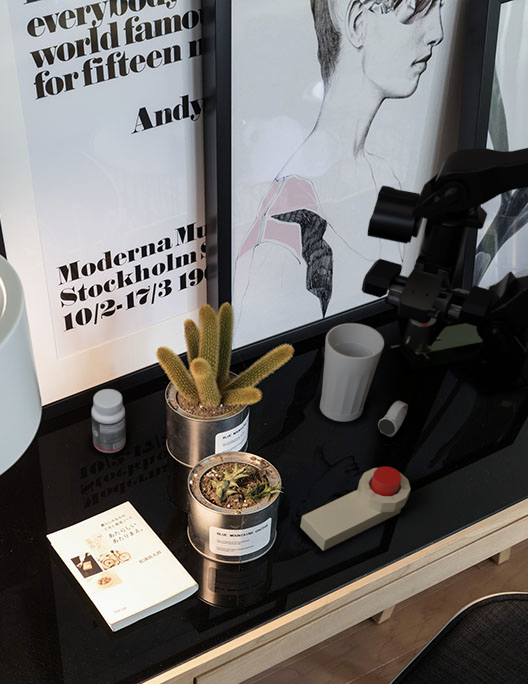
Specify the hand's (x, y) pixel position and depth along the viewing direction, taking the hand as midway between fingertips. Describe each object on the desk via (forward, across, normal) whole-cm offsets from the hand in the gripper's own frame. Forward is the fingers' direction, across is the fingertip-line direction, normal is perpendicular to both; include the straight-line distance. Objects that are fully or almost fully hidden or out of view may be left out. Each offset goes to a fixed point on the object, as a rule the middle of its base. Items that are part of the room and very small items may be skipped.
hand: (416, 340), depth 145 cm
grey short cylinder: (+4, +3, -17) cm, 18 cm away
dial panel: (+3, +3, +2) cm, 5 cm away
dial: (0, 0, 0) cm, 0 cm away
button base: (+4, +5, -36) cm, 37 cm away
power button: (0, +7, -32) cm, 33 cm away
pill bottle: (+4, -32, -39) cm, 50 cm away
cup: (+4, -5, -16) cm, 17 cm away
